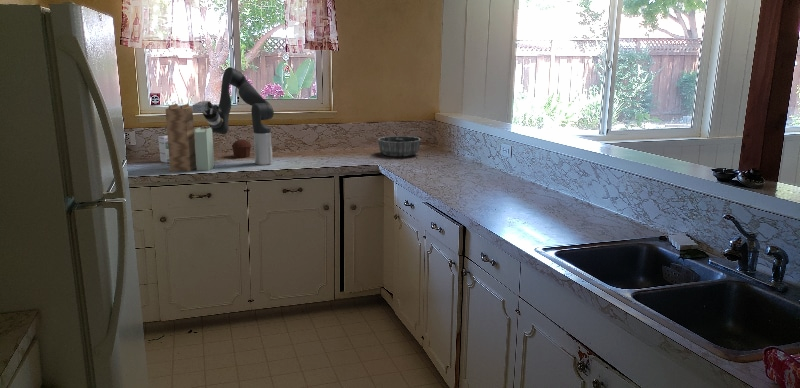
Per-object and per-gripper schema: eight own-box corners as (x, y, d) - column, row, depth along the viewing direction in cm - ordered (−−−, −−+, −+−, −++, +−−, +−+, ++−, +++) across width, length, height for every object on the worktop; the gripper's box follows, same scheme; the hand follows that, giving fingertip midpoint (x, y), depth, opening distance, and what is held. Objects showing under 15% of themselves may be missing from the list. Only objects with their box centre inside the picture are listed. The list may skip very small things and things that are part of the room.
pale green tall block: (214, 166, 327) (212, 127, 322) (209, 170, 315) (206, 129, 310) (202, 166, 326) (200, 126, 321) (196, 170, 315) (193, 129, 310)
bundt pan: (370, 156, 362) (370, 140, 360) (387, 150, 386) (387, 134, 384) (411, 160, 353) (411, 143, 350) (426, 153, 376) (427, 137, 374)
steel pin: (210, 108, 324) (210, 101, 323) (201, 112, 305) (200, 105, 304) (203, 108, 324) (202, 101, 323) (192, 112, 304) (192, 104, 303)
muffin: (247, 158, 350) (246, 141, 348) (228, 158, 352) (228, 140, 349) (255, 155, 361) (254, 138, 359) (237, 154, 363) (236, 138, 361)
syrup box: (166, 162, 335) (164, 136, 331) (160, 161, 338) (158, 135, 335) (175, 161, 339) (173, 135, 336) (169, 160, 343) (167, 134, 339)
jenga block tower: (196, 166, 324) (192, 103, 317) (190, 171, 313) (185, 106, 305) (177, 166, 324) (172, 103, 316) (170, 171, 312) (165, 105, 304)
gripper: (199, 109, 335) (190, 96, 318) (225, 110, 336) (218, 96, 319) (198, 122, 333) (189, 109, 316) (224, 122, 334) (217, 109, 317)
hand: (204, 103), depth 318 cm, fingers closed on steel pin, 4 cm apart
